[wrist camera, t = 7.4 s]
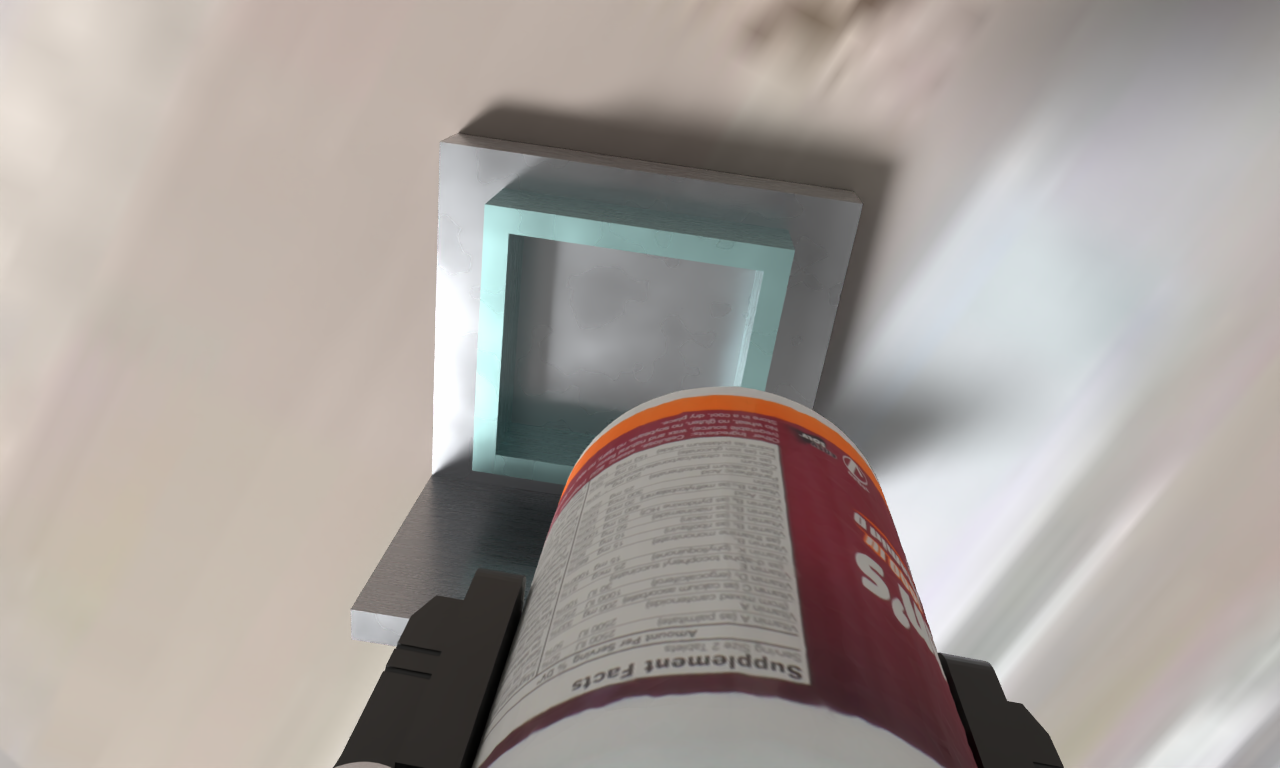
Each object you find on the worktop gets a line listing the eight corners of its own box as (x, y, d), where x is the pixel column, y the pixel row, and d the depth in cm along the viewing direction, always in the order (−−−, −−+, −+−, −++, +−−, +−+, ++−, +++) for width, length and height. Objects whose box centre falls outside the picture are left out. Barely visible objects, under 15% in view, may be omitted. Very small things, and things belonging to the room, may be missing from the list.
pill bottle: (916, 604, 16) (1263, 1628, 6) (627, 671, 18) (507, 1599, 7) (832, 328, 14) (1155, 1206, 4) (509, 429, 15) (94, 1278, 5)
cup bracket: (853, 191, 28) (918, 277, 19) (773, 525, 34) (794, 710, 25) (457, 133, 29) (338, 191, 20) (446, 474, 35) (351, 639, 26)
